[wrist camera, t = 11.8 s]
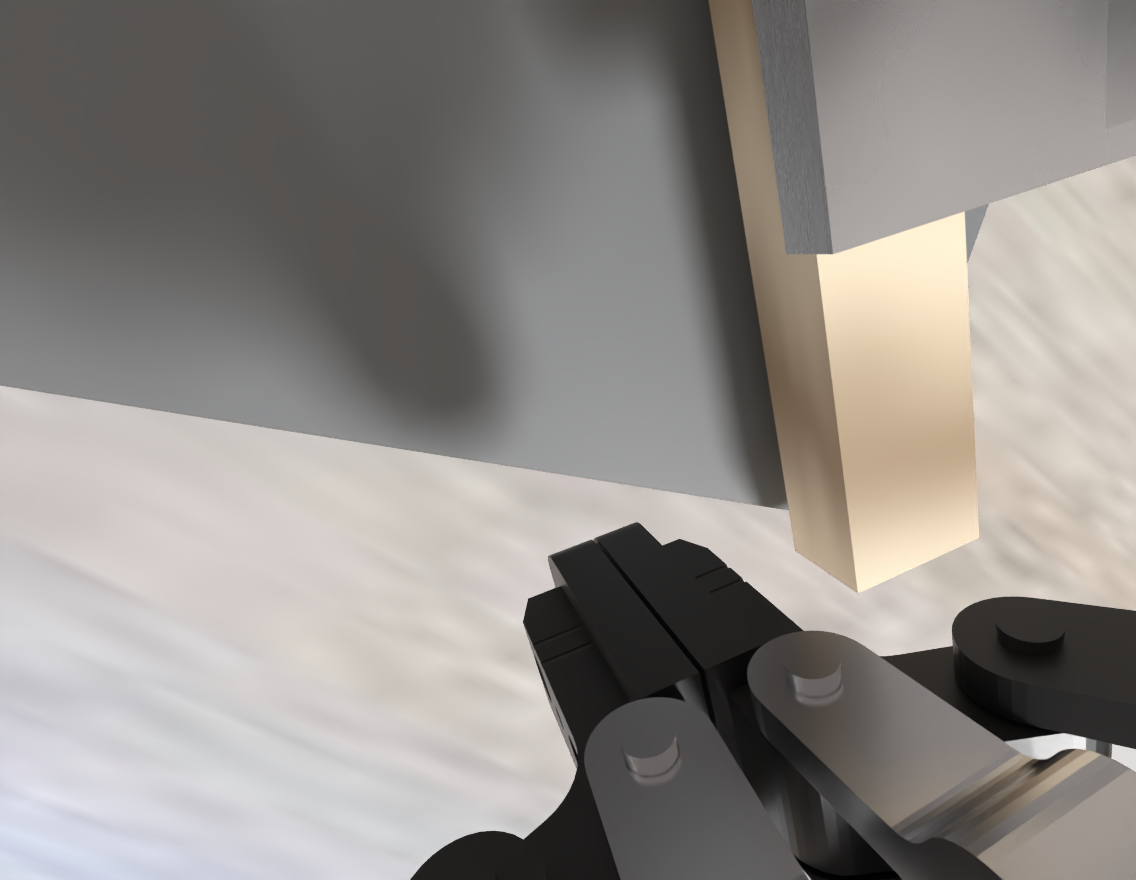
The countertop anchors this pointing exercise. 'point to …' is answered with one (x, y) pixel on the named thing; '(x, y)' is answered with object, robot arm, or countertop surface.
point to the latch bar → (856, 362)
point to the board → (392, 228)
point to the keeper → (936, 106)
